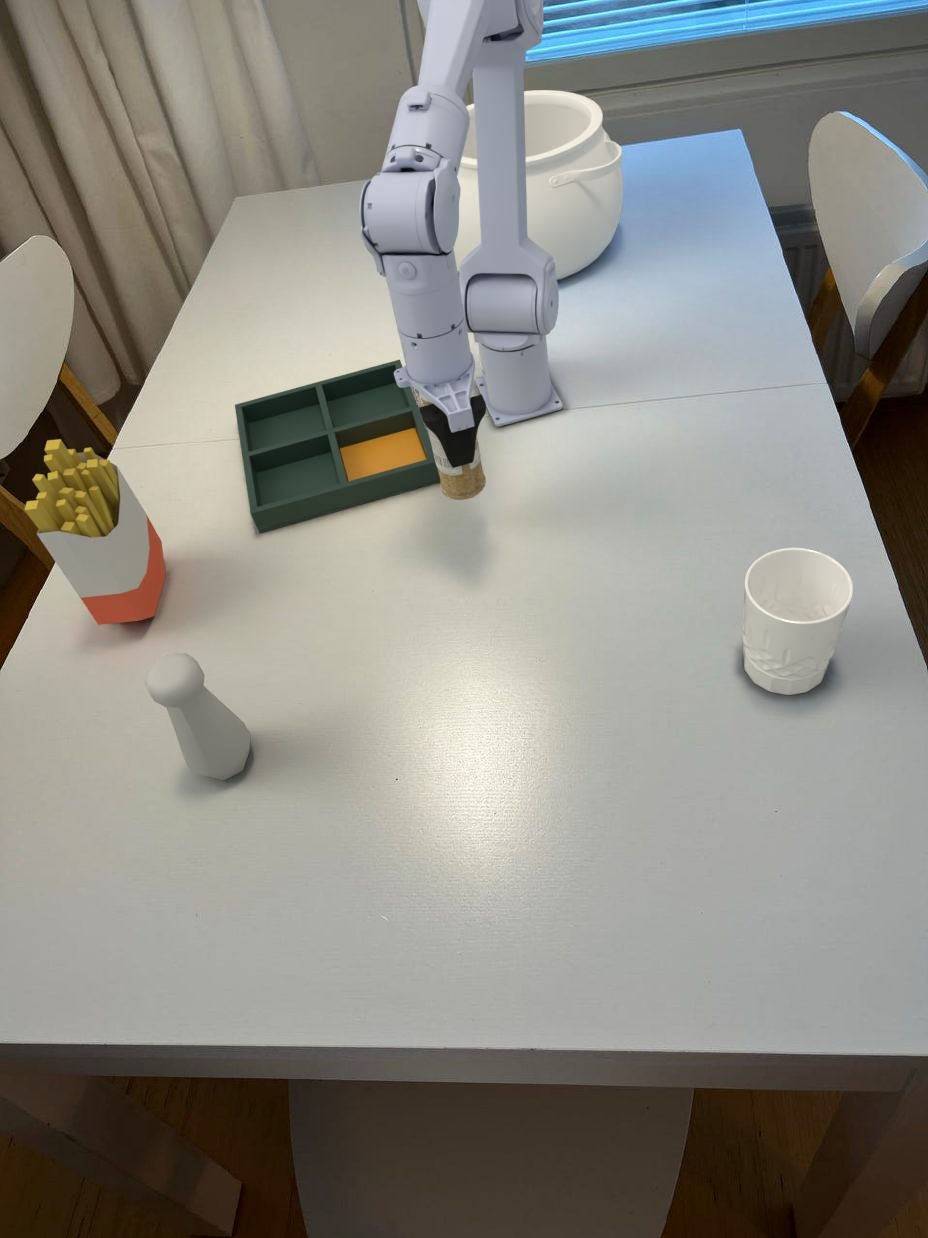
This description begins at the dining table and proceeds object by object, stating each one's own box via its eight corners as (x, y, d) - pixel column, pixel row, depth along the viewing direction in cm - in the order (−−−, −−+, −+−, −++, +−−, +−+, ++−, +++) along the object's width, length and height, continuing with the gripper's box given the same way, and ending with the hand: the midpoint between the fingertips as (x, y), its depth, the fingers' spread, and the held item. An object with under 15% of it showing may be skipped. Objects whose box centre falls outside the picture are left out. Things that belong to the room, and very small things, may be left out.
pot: (392, 276, 131) (365, 157, 119) (495, 189, 144) (481, 73, 132) (568, 317, 118) (559, 188, 106) (665, 218, 131) (667, 92, 118)
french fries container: (174, 557, 100) (100, 421, 86) (152, 636, 92) (68, 500, 79) (133, 562, 100) (53, 427, 87) (108, 641, 93) (17, 506, 79)
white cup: (837, 636, 80) (857, 554, 73) (829, 710, 76) (849, 631, 68) (743, 621, 83) (752, 541, 75) (729, 692, 78) (737, 614, 71)
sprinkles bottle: (495, 486, 91) (476, 370, 81) (456, 508, 90) (432, 393, 80) (469, 464, 94) (447, 348, 84) (431, 485, 93) (405, 370, 83)
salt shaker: (197, 737, 84) (137, 645, 74) (260, 727, 83) (208, 634, 73) (190, 794, 80) (126, 705, 70) (256, 783, 79) (201, 693, 70)
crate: (242, 423, 114) (234, 404, 111) (404, 379, 115) (399, 358, 113) (259, 533, 100) (250, 513, 98) (442, 481, 101) (438, 460, 99)
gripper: (368, 289, 83) (399, 414, 93) (402, 379, 73) (432, 507, 83) (445, 268, 83) (467, 395, 93) (488, 355, 73) (508, 485, 84)
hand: (455, 447), depth 88 cm, fingers closed on sprinkles bottle, 4 cm apart
